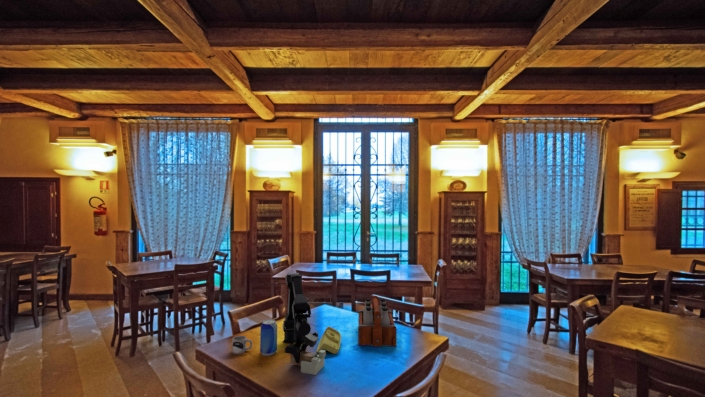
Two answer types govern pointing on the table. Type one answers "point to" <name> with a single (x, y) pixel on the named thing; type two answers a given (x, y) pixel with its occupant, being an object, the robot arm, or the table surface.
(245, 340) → the mug
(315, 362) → the posts
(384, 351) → the table surface
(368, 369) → the table surface
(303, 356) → the rail
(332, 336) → the plastic component
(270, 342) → the beer can
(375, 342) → the milk bottle holder
